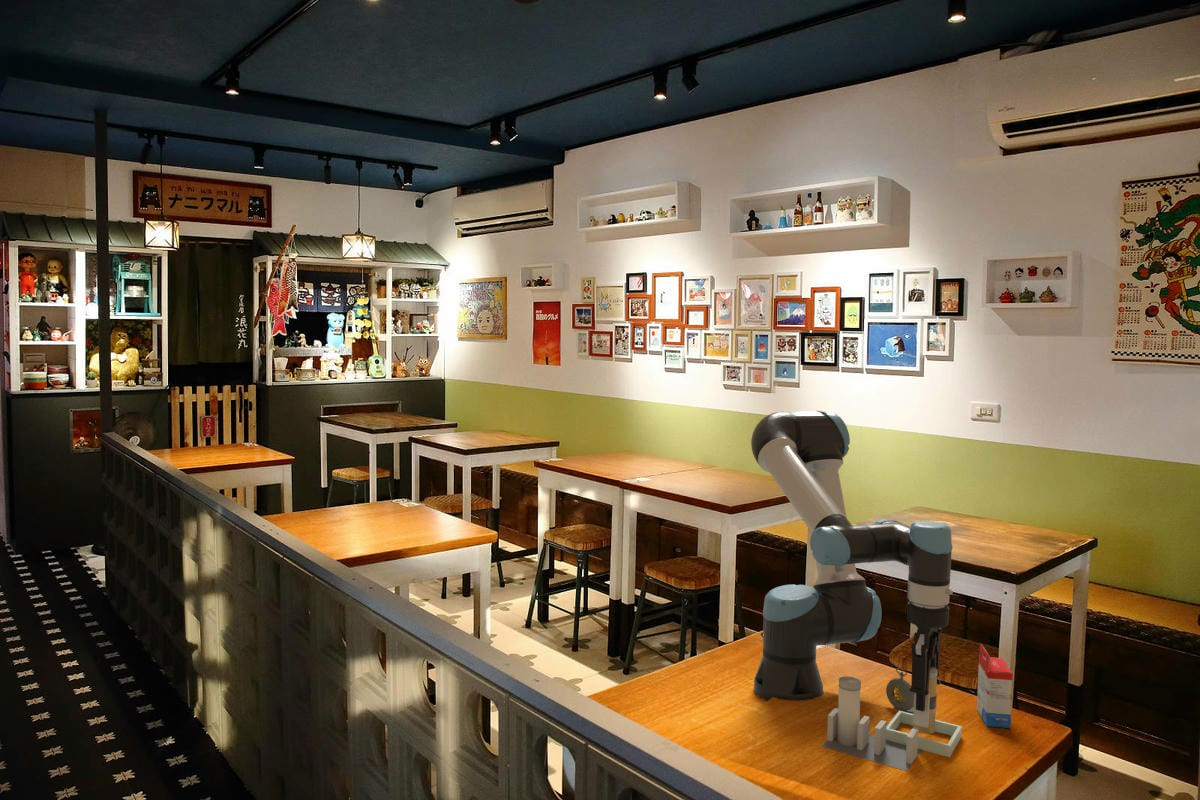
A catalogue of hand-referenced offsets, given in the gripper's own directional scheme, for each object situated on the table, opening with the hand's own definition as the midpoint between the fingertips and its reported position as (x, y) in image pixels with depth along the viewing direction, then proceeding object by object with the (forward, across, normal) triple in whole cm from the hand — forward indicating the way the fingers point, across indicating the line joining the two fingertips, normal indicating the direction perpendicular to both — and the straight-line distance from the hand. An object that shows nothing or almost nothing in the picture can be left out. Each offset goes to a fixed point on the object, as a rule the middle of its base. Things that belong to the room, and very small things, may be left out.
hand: (923, 720), depth 164 cm
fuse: (+4, -10, +12) cm, 16 cm away
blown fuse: (+2, 0, 0) cm, 2 cm away
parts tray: (+5, 0, 0) cm, 5 cm away
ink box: (+5, +21, -9) cm, 23 cm away
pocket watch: (+5, +14, +7) cm, 17 cm away
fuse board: (+5, -10, +7) cm, 13 cm away
